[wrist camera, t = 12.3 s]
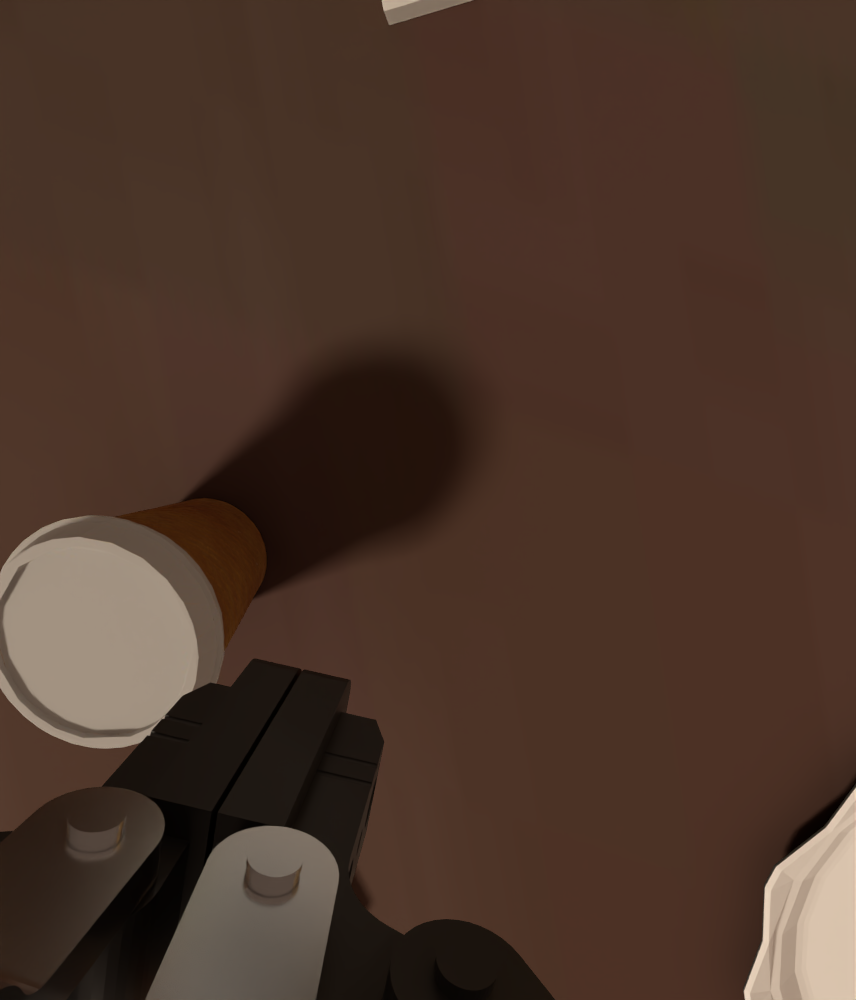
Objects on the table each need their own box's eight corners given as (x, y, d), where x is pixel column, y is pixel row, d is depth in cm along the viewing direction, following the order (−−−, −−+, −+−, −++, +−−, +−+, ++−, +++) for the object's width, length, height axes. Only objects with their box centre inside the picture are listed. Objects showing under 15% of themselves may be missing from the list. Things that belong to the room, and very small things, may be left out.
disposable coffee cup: (243, 437, 38) (130, 482, 27) (327, 598, 40) (255, 707, 28) (91, 512, 40) (-77, 585, 28) (178, 664, 42) (51, 793, 30)
